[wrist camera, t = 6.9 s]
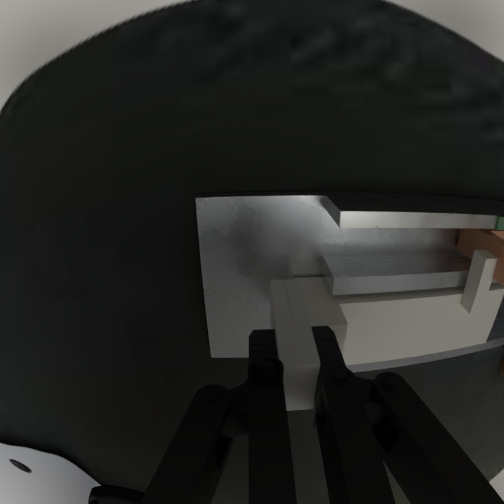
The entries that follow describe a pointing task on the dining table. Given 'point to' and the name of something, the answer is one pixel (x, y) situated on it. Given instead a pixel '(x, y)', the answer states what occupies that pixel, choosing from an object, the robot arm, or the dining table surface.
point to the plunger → (408, 316)
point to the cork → (502, 366)
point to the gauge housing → (331, 254)
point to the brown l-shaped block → (484, 246)
